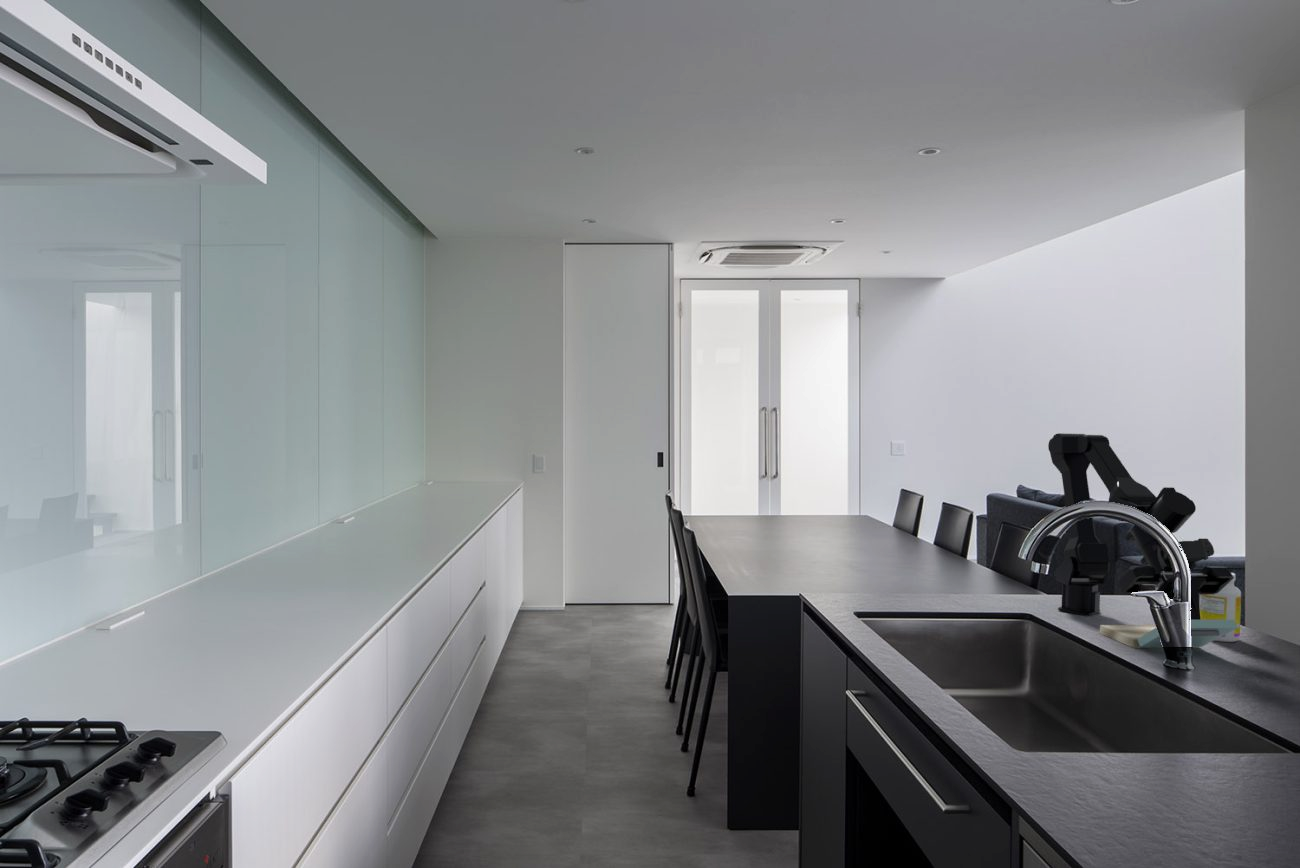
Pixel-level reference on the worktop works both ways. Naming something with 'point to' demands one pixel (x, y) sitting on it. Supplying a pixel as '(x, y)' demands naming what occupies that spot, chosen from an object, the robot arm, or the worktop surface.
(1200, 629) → the panel
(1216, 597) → the supplement bottle
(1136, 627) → the plate
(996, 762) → the worktop surface
